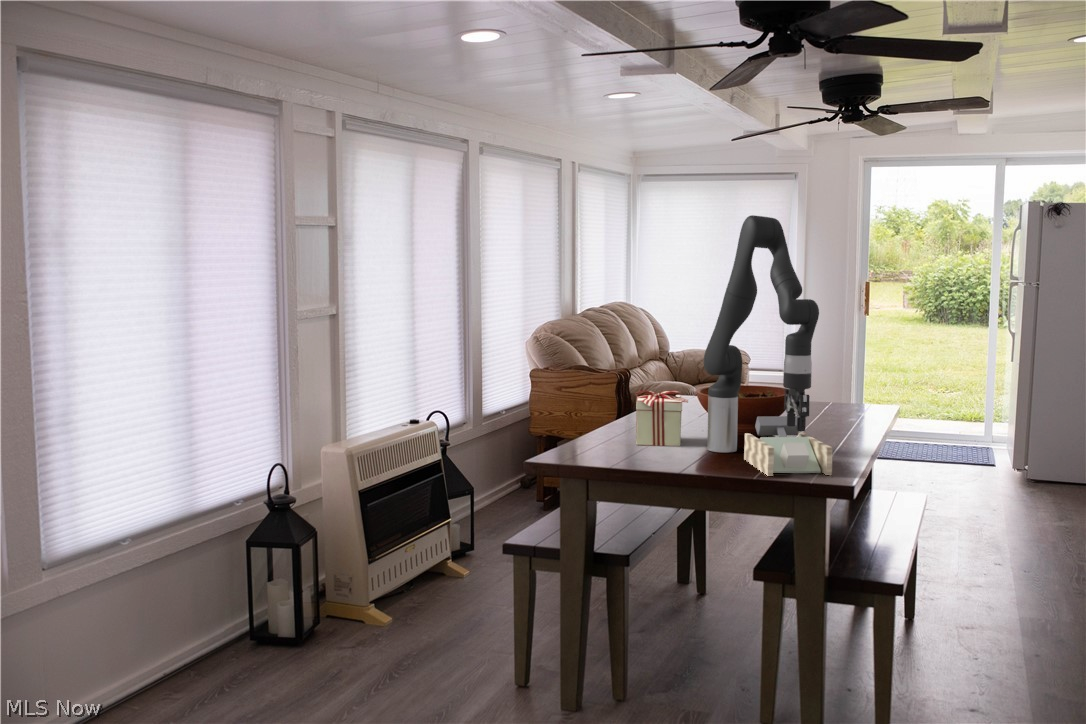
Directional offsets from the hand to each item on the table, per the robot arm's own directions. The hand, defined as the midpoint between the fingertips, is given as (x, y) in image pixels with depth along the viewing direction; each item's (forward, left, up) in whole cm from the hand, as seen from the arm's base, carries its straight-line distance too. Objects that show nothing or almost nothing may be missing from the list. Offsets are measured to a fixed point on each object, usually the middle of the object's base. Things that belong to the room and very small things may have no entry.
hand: (795, 428), depth 265 cm
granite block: (-1, 0, -10) cm, 10 cm away
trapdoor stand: (-7, 0, -13) cm, 15 cm away
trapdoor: (-10, 0, -9) cm, 13 cm away
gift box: (-48, -29, -13) cm, 58 cm away
